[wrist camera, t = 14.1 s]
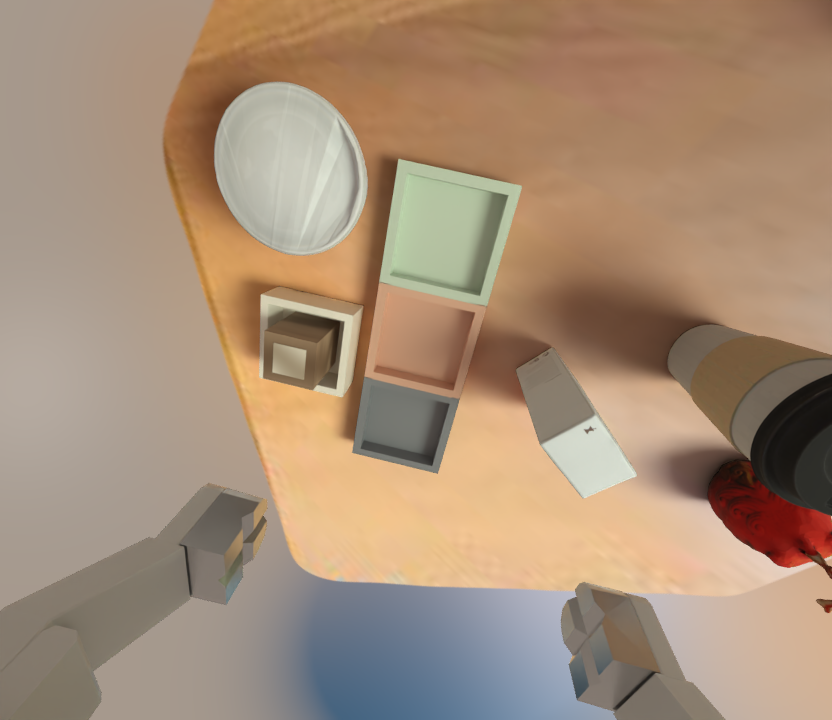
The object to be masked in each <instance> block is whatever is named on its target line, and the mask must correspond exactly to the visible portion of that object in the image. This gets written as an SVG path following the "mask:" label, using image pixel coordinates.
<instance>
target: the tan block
mask: <svg viewBox="0 0 832 720" xmlns="http://www.w3.org/2000/svg"><path fill="white" fill-rule="evenodd" d="M339 328H340V322H339V321H335V320H331V319H327V318H323V317H318V316H314V315H310V314H306V313H301V312H297V311H295V312H294V313H292V314H290V315H289V316H287V317H286V318H284V319H282V320H281V321H279V322H277V323H276V324H274V325H273V326H271V327H269V328H268V329H266V330H265V331H264V363H263V378H264V379H268V380H272V381H277V382H281V383H285V384H289V385H293V386H297V387H301V388H305V389H309V390H313V389H314V388H315V387H316V386H317V385H318V383H319V382H320V381H321V380H322V378H323V377H324V376H325V375H326V374H327V372H328V371H329V370H330V369H331V367H332V366H333V365H334V364H335V362H336V353H337V345H338V337H339Z"/></svg>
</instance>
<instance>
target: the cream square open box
mask: <svg viewBox="0 0 832 720" xmlns="http://www.w3.org/2000/svg"><path fill="white" fill-rule="evenodd" d="M363 307H364V306H363V305H359V304H354V303H350V302H346V301H341V300H337V299H333V298H329V297H324V296H320V295H316V294H311V293H307V292H303V291H298V290H294V289H290V288H285V287H281V286H279V287H276V288H274V289H272V290H269V291H267V292H265V293H262V294H261V309H260V365H259V378H263V363H264V331H265V330H266V329H268V328H269V327H271V326H273V325H274V324H276V323H277V322H279V321H281V320H282V319H284V318H286V317H287V316H289V315H290V314H292V313H294V312H295V311H297V312H301V313H306V314H310V315H314V316H318V317H323V318H327V319H331V320H335V321H339V322H340V328H339V337H338V345H337V353H336V362H335V364H334V365H333V366H332V367H331V369H330V370H329V371H328V372H327V374H326V375H325V376H324V377H323V378H322V380H321V381H320V382H319V383H318V385H317V386H316V387H315V388H314V389H313V390H314V391H318V392H322V393H326V394H330V395H334V396H339V397H343V396H344V394H345V393H346V391H347V390H348V388H349V387H350V385H351V383H352V382H353V376H354V369H355V362H356V355H357V348H358V341H359V334H360V327H361V320H362V314H363ZM263 379H264V378H263ZM276 382H277V381H276ZM280 383H281V382H280ZM284 384H285V383H284ZM288 385H289V384H288Z"/></svg>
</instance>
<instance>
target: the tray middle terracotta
mask: <svg viewBox="0 0 832 720" xmlns="http://www.w3.org/2000/svg"><path fill="white" fill-rule="evenodd" d="M379 282H380V281H379ZM423 292H424V291H423ZM423 292H418V291H414V290H410V289H405V288H403V287H402V288H401V287H397V286H392V285H390V284H389V285H388V284H386V283H383V282H382V283H379V287H378V293H377V299H376V306H375V312H374V318H373V325H372V331H371V337H370V344H369V350H368V356H367V363H366V369H365V375H364V376H365V377H367V378H370V379H371V378H372V379H374V380H375V379H376V380H378V381H382V382H387V383H391V384H395V385H399V386H404V387H406V386H407V387H408V388H412V389H416V390H419V389H420V391H425V392H429V393H433V394H437V395H441V396H446V397H450V398H452V397H454V399H456V398H458V399H459V400H460V396H461V393H462V389H463V386H464V383H465V379H466V376H467V372H468V369H469V366H470V362H471V359H472V355H473V352H474V349H475V345H476V342H477V338H478V335H479V332H480V328H481V325H482V321H483V318H484V315H485V311H486V308H487V306H484V305H480V304H479V305H475V304H471V303H466V302H462V301H458V300H453V299H449V298H445V297H442V296H441V297H440V296H436V295H432V294H427V293H423Z"/></svg>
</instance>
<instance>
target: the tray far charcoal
mask: <svg viewBox="0 0 832 720" xmlns="http://www.w3.org/2000/svg"><path fill="white" fill-rule="evenodd" d="M458 403H459V399H458V398H456V399H454V397H452V398H450V397H446V396H441V395H437V394H433V393H429V392H425V391H420V389H419V390H416V389H412V388H408V387H407V386H406V387H404V386H399V385H395V384H391V383H387V382H382V381H378V380H376V379H375V380H374V379H372V378H371V379H370V378H367V377H365V376H364V382H363V388H362V394H361V401H360V407H359V413H358V420H357V426H356V432H355V439H354V445H353V451H352V453H355V454H359V455H364V456H368V457H372V458H376V459H380V460H384V461H388V462H392V463H396V464H401V465H405V466H409V467H413V468H417V469H421V470H425V471H429V472H433V473H437V474H438V471H439V468H440V464H441V461H442V458H443V454H444V451H445V447H446V444H447V441H448V437H449V434H450V430H451V427H452V424H453V420H454V417H455V413H456V410H457V406H458Z"/></svg>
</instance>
